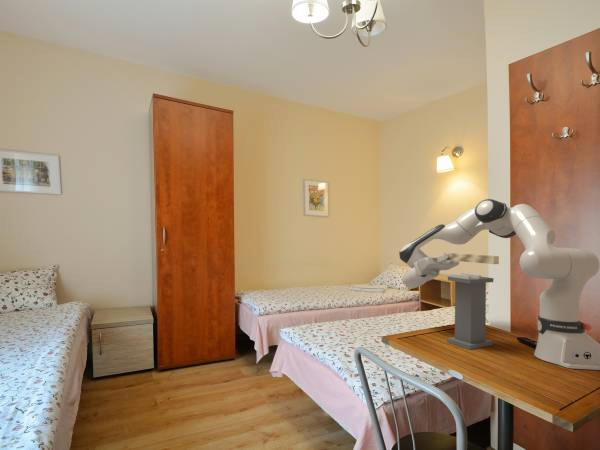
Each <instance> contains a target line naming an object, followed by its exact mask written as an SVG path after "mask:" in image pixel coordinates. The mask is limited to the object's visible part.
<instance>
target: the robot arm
mask: <svg viewBox="0 0 600 450" xmlns="http://www.w3.org/2000/svg"><path fill="white" fill-rule="evenodd" d="M487 230H488V232H489V234H492V235H494V236H496V237H499V238H502V239H510V238H512V237H514V236H515V235H516V236H517V237H518V239H519V240H520V242H521V243H522V244H523V247H524V249H525V250H523V252H522V253H521V255H520V258H519V266H520V269H521V271H522V272H523V273H524V275H526V276H528V277H532V278H536V279H541V280H542V279H547V280H552V282H551V284H550V286H548V287H547V289H545V290H543V291H542V292H541V293H540V294H539V315H538V318H537V331H538V336H537V337H538V338H537V343H536V346H535V350H534V352H533V356H534V357H536V358H537V359H540V360H542V361H545V362H548V363H551V364H554V365H559V366H561V367H564V368H567V369H572V370H573V369H574V370H575V369H576V370H591V371H600V342H598V341H597V340H596V339H595V338H593V337H592V336H590V334H588V333H586V331H587V332H588V331H591V330H592V329H593V327H592V326H591V324H588V323H584V322H583V321H580V320H579V314H580V313H579V312H580V299H581V295H582V292H583V290H584V288H585V286H586V285H587V283H588V282H589V281H590V280H591V279H592V278H593V277H594V276H596V275H597V274H598V272H599V271H600V260H599V258H598V256H597V255H596V254H595V253H594V252H593V251H589V250H585V249H581V248H577V247H576V248H575V247H558V246H555V245H554V243H555V241H556V238H557V236H556V234H557V233H556V231H555V230H554V229H553V227H552V226H551V225H550V224H549V222H548V221H547V220H546V219H545V218H544V217H543V216H542V215H541V214H540V213H539V211H537V210H536V209H535V208H533V207H532V206H531V205H529V204H526V203H519V204H516V205H514V206H512V207H508V206H507V204H506V203H505V202H501V201H498V200H495V199H491V198H487V199H484V200H482V201H480V202H478V203H477V204H476V206H475V207H471V208H470V209H468V210H467V211H465V212H464V213H462V214H461V215H459V216H458V217H457V218H456V219H455V220H454V221H452V222H450V223H448V224H438V225H437V226H436V225H435V227H433V228H431V229H429V230H428V231H426V232H425V233H424V234H422V235H420V236H419V237H417V238H415V239H414V240H412V241H411V242H409V243H407V244H405V245H404V246H402V247H401V248H400V250H399V253H398V255H399V260H401V261H402V262H403V263H405V264H406V265H407V266H408V267H410V268H411V269H409V270H408V271H406V272H405V273H404V274H403V275H402V277H401V281H402V283H403V284H404V286H406V288H408V289H411V290H412V289H416V288H419V287H421V286H422V285H424V284H426V283H427V282H430V281H431V280H433V279H435V278H436V277H439V275H440V271H448V270H451V269H453V268H455V267H457V266H459V264H460V261H452V260H446V259H449V258H450V256H449V254H445V255H444V254H443V255H442V256H438V257H437V256H433V257H432V256H431V257H430V256H428V255H427V254H426V253H425V252H424V251H422V250H421V248H422V247H424V246H425V245H427V244H429V243H430V242H431V241H433V240H441V241H445V242H447V243H450V244H453V245H458V246H459V245H465V244H467V243H468V242H470V241H472V239H474V238H475V237H476V236H477V235H478V234H479V233H481V232H482V231H487Z"/></svg>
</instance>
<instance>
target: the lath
mask: <svg viewBox="0 0 600 450" xmlns="http://www.w3.org/2000/svg"><path fill="white" fill-rule="evenodd" d="M445 254H449V256H450V258H449V259H446V260H452V261H459V262H464V263H465V262H467V263H476V264H486V265H487V264H488V265H499V264H500V263H499V262H500V261H499V260H500V257H499V256H500V255H485V254H471V253H455V252H444V253H443V256H444V255H445Z"/></svg>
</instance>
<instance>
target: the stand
mask: <svg viewBox="0 0 600 450" xmlns="http://www.w3.org/2000/svg"><path fill="white" fill-rule="evenodd" d="M447 281H450V282H454V336H453V337H447V338H446V343H449V344H452V345H455V346H456V347H457V346H458V347H461V348H463V349H466V350H476V349H480V348H484V347H489V346H493V345H494V341H493V340H490V339H487V338H486V333H487V332H486V326H487V325H486V323H487V320H486V318H487V317H486V316H487V315H486V314H487V307H486V305H487V304H486V303H487V299H486V298H487V294H486V293H487V283H494V277H486V276H482V275H479V274H471V273H465V272H463V273H460V274H458V273H450V276H447Z"/></svg>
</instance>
